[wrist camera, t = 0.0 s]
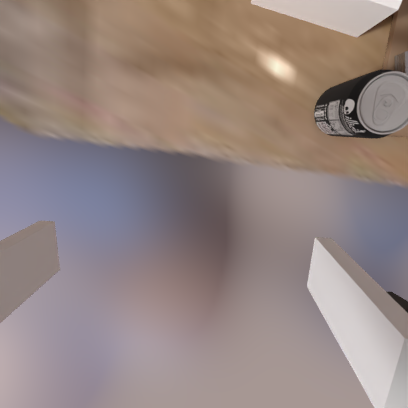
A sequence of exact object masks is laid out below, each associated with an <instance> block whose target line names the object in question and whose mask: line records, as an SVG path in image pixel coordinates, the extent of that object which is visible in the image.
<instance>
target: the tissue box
mask: <svg viewBox="0 0 408 408" xmlns="http://www.w3.org/2000/svg"><path fill="white" fill-rule="evenodd" d="M401 2H402V0H251V4H254V5H257V6H260V7H264V8H267V9H270V10H273V11H276V12H279V13H282V14H285V15H289V16H292V17H295V18H298V19H301V20H304V21H307V22H311V23H314V24H317V25H320V26H323V27H326V28H329V29H332V30H336V31H339V32H342V33H345V34H348V35H351V36H354V37H358V36H360V35H361V34H363V33H364V32H366V31H367V30H369V29H370V28H372V27H373V26H375V25H376V24H378V23H379V22H381V21H382V20H384V19H385V18H387V17H388V16H390V15H391V14H393V13H394V12H396V11H397V10H398V9H399V7H400V5H401Z"/></svg>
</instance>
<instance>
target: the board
mask: <svg viewBox="0 0 408 408" xmlns="http://www.w3.org/2000/svg"><path fill="white" fill-rule="evenodd" d="M406 51H408V0H402V2H401V5H400V7H399V9H398V10H397V11H396V12H394V14H393V19H392V24H391V29H390V34H389V39H388V44H387V49H386V54H385V59H384V64H383V69H382V70H393V71H395V57H394V56H396V55H398V54H401V53H403V52H406ZM388 136H395V137H408V124H407V125H406V126H405V127H404V128H402V129H401V130H399V131H397V132H394V133H392V134H390V135H388Z"/></svg>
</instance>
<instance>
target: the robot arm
mask: <svg viewBox="0 0 408 408" xmlns="http://www.w3.org/2000/svg"><path fill="white" fill-rule="evenodd" d="M59 270H60V265H59V256H58V248H57V239H56V230H55V222H53V221H39V222H36V223H35V224H33V225H31V226H29V227H27V228H25V229H23V230H21V231H19V232H17V233H15V234H13V235H11V236H9V237H7V238H5V239H3V240H1V241H0V323H1V322H2V321H3V320H4V319H5V318H6V317H8V316H9V315H10V314H11V313H12V312H13V311H14V310H15V309H17V308H18V307H19V306H20V305H21V304H22V303H23V302H24V301H26V300H27V299H28V298H29V297H30V296H31V295H32V294H34V292H36V291H37V290H38V289H39V288H40V287H41V286H43V285H44V284H45V283H46V282H47V281H48V280H49V279H50V278H51V277H52V276H54V275H55V274H56V273H57V272H58V271H59ZM307 288H308V289H309V291H310V293H311V294H312V296H313V298H314V300H315V302H316V304H317V305H318V307H319V309H320V311H321V312H322V314H323V316H324V318H325V320H326V322H327V323H328V325H329V327H330V329H331V331H332V332H333V334H334V336H335V338H336V339H337V341H338V343H339V345H340V347H341V349H342V350H343V352H344V354H345V356H346V357H347V359H348V361H349V363H350V365H351V366H352V368H353V370H354V371H355V374H356V375H357V377H358V379H359V381H360V383H361V384H362V386H363V388H364V390H365V391H366V393H367V395H368V397H369V399H370V400H371V402H372V404H373V406H374V408H408V302H407V301H406V300H404V299H403V298H401V297H399V296H398V295H396V294H394V293H393V292H386V291H385V290H383V288H382V287H380V286H379V285H378V284H377V283H376V282H375V281H374V280H373V279H372V278H371V277H370V276H369V275H368V274H367V273H366V272H365V271H364V270H363V269H362V268H361V267H360V266H359V265H358V264H357V263H356V262H355V261H354V260H353V259H352V258H351V257H350V256H349V255H348V254H347V253H346V252H345V251H344V250H343V249H342V248H340V246H339V245H337V244H336V243H335V242H334V241H333V240H332V239H331V238H319V237H315V241H314V247H313V254H312V259H311V266H310V272H309V277H308V284H307Z"/></svg>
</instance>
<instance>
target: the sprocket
mask: <svg viewBox="0 0 408 408" xmlns="http://www.w3.org/2000/svg"><path fill="white" fill-rule="evenodd" d="M394 57H395V71H398V72H403V73H406V74H408V51H406V52H403V53H401V54H398V55H396V56H394Z"/></svg>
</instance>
